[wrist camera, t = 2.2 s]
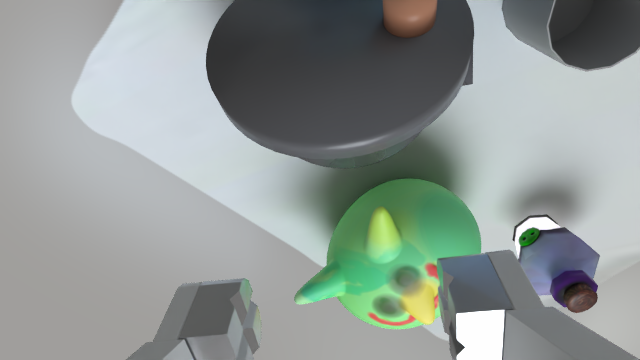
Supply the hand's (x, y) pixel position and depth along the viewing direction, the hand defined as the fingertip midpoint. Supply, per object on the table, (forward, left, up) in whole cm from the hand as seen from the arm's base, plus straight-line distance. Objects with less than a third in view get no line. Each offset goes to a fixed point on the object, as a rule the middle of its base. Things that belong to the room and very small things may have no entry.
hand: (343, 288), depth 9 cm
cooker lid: (-1, 0, -21) cm, 21 cm away
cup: (+1, +20, -37) cm, 42 cm away
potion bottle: (+29, +21, -37) cm, 52 cm away
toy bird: (+24, +3, -37) cm, 45 cm away
